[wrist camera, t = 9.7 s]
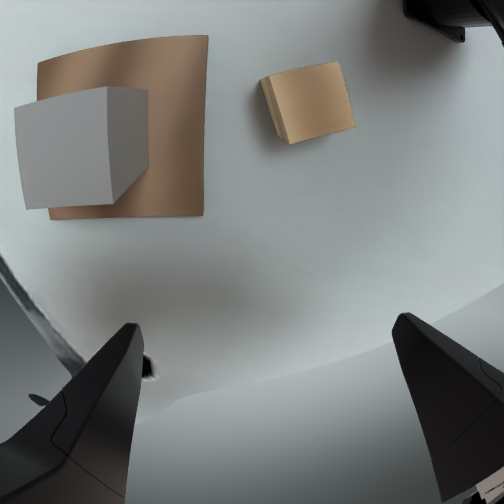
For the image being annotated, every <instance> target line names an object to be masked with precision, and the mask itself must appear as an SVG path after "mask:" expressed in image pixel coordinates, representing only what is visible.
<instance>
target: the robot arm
mask: <svg viewBox="0 0 504 504" xmlns="http://www.w3.org/2000/svg"><path fill="white" fill-rule="evenodd" d="M403 8H404V14H405V15H406V16H407V17H408V18H410V19H412V20H415V21H417V22H419V23H422V24H424V25H426V26H428V27H430V28H432V29H434V30H436V31H438V32H440V33H442V34H444V35H446V36H448V37H450V38H452V39H454V40H455V41H457V42H459V43H463V42H465V28H466V27H481V26H493V27H494V29H495V31H496V32H497V34H498V36H499V38H500V39H501V41H502V45H503V47H504V0H403ZM409 11H410V12H411V14H410V13H409ZM459 36H460V37H459ZM392 337H393V341H394V344H395V347H396V351H397V355H398V358H399V362H400V365H401V369H402V372H403V375H404V377H405V380H406V383H407V386H408V388H409V391H410V394H411V397H412V400H413V403H414V405H415V408H416V411H417V414H418V417H419V420H420V423H421V427H422V430H423V433H424V436H425V440H426V443H427V447H428V450H429V453H430V457H431V461H432V464H433V469H434V472H435V476H436V481H437V485H438V489H439V493H440V498H441V501H442V503H443V502H445V501H447V500H449V499H451V498H453V497H455V496H457V495H459V494H461V493H462V492H464V491H466V490H468V489H470V488H471V487H473V486H475V485H476V486H477V489H478V490H477V491H476V492H475V493H473V494H472V495H470V496H469V497H467V498H466V499H464V501H463V503H462V504H504V373H503V372H501V371H500V370H498V369H496V368H495V367H493V366H492V365H490V364H488V363H487V362H485V361H484V360H482V359H481V358H478V356H476V355H475V354H473V353H472V352H470V351H469V350H467V349H466V348H464V347H463V346H461V345H460V344H458V343H457V342H455V341H453V340H452V339H450V338H449V337H448V336H446V335H444V334H443V333H441V332H440V331H438V330H437V329H435V328H434V327H432V326H430V325H429V324H427V323H426V322H424V321H423V320H421V319H419V318H418V317H416V316H415V315H413V314H411V313H409V312H407V313H401V314H399V316H398V318H397V320H396V322H395V324H394V327H393V329H392ZM143 352H144V341H143V337H142V334H141V330H140V326H139V324H137V323H126V324H125V325H124V326H123V327H122V328H121V329H120V330H119V331H118V332H117V333H116V334H115V335H114V336H113V337H112V338H111V339H110V340H109V341H108V342H107V343H106V344H105V345H104V346H103V347H102V348H101V349H100V350H99V351H98V352H97V353H96V354H95V355H94V356H93V357H92V358H91V359H90V360H89V361H88V362H87V363H86V364H85V365H84V366H83V367H82V369H81V370H80V371H79V372H78V373H77V374H76V375H75V376H74V377H73V378H72V379H71V380H70V381H69V382H68V383H67V384H66V385H65V387H64V388H63V389H62V391H60V392H59V393H58V394H57V395H56V396H55V397H54V398H53V399H52V400H51V401H50V402H49V403H48V404H47V405H46V406H45V407H44V408H43V409H42V410H41V411H40V412H39V413H38V414H37V415H36V416H35V417H34V418H33V419H31V420H30V421H29V422H28V423H27V424H26V425H25V426H23V428H21V429H20V430H19V431H18V432H17V433H16V434H14V436H12V437H11V438H10V439H9V440H7V441H5V442H3V443H1V444H0V504H125V493H126V483H127V474H128V466H129V458H130V450H131V443H132V436H133V430H134V424H135V418H136V412H137V406H138V400H139V395H140V389H141V377H142V363H143Z"/></svg>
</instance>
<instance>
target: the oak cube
mask: <svg viewBox="0 0 504 504" xmlns="http://www.w3.org/2000/svg"><path fill="white" fill-rule="evenodd" d="M260 82H261V85H262V88H263V91H264V94H265V98H266V101H267V104H268V107H269V110H270V113H271V116H272V120H273V123H274V126H275V129H276V133H277V136H279V137H280V138H282V139H283V140H285V141H286V142H287V143H289V144H294V143H297V142H301V141H304V140H308V139H312V138H316V137H320V136H323V135H327V134H331V133H335V132H340V131H344V130H348V129H352V128H356V127H355V122H354V118H353V114H352V109H351V105H350V101H349V97H348V93H347V90H346V86H345V82H344V78H343V75H342V71H341V68H340V65H339V61H338V62H331V63H325V64H320V65H314V66H309V67H304V68H299V69H295V70H290V71H286V72H281V73H277V74H273V75H269V76H267V77H265V78H263V79H261V80H260Z"/></svg>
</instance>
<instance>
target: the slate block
mask: <svg viewBox="0 0 504 504" xmlns="http://www.w3.org/2000/svg"><path fill="white" fill-rule="evenodd" d="M148 95H149V89H139V88H126V87H110V86H106V87H100V88H94V89H88V90H83V91H78V92H73V93H69V94H64V95H60V96H56V97H51V98H48V99H44V100H40V101H36V102H33V103H29V104H26V105H23V106H19V107H16V108H14V116H15V134H16V146H17V155H18V164H19V171H20V178H21V184H22V190H23V195H24V201H25V206H26V210H28V209H40V208H53V207H67V206H84V205H104V204H114V203H115V202H116V201H117V200H118V198H119V197H120V196H121V195H122V194H123V193H124V192H125V191H126V190H127V189H128V188H129V186H130V185H131V184H132V183H133V182H134V181H135V180H136V179H137V178H138V177H139V176H140V175H141V174H142V173H143V172H144V171H145V170H146V169H147V168H148V167H149V137H148Z"/></svg>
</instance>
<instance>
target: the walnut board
mask: <svg viewBox="0 0 504 504" xmlns="http://www.w3.org/2000/svg"><path fill="white" fill-rule="evenodd" d="M207 54H208V35H191V36H172V37H160V38H150V39H141V40H134V41H127V42H120V43H115V44H109V45H104V46H99V47H94V48H89V49H85V50H81V51H77V52H73V53H69V54H65V55H62V56H58V57H55V58H52V59H48V60H45V61H42V62H39V63H38V70H37V101H40V100H44V99H48V98H51V97H56V96H60V95H64V94H69V93H73V92H78V91H83V90H88V89H94V88H100V87H106V86H110V87H126V88H139V89H149V95H148V137H149V167H148V168H147V169H146V170H145V171H144V172H143V173H142V174H141V175H140V176H139V177H138V178H137V179H136V180H135V181H134V182H133V183H132V184H131V185H130V186H129V188H128V189H127V190H126V191H125V192H124V193H123V194H122V195H121V196H120V197H119V198H118V200H117V201H116V202H115V203H114V204H104V205H84V206H67V207H53V208H48V210H49V215H50V220H61V219H83V218H110V217H151V216H203V211H204V123H205V94H206V72H207Z"/></svg>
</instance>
